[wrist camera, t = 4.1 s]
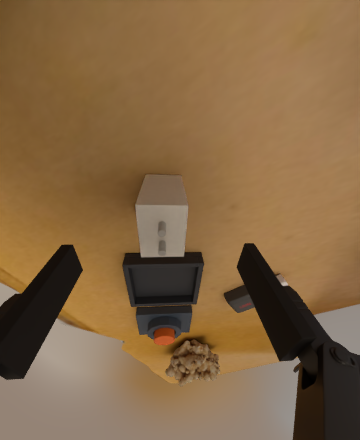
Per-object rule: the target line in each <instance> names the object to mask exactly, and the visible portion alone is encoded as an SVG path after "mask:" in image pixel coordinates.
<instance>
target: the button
mask: <svg viewBox="0 0 360 440" xmlns="http://www.w3.org/2000/svg"><path fill="white" fill-rule="evenodd" d="M174 341H175V333H174V329H171V328H160V329H157V330H155V332H154V343H155V344H158V345H169V344H171V343H173V342H174Z"/></svg>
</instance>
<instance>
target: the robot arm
mask: <svg viewBox="0 0 360 440" xmlns="http://www.w3.org/2000/svg"><path fill="white" fill-rule="evenodd" d="M237 269H238V271H239V273H240V276H241V278H242V280H243V282H244V284H245V287H246V289H247V291H248V293H249V295H250V298H251V300H252V302H253V304H254V306H255V308H256V311H257V313H258V315H259V317H260V319H261V322H262V324H263V326H264V328H265V330H266V333H267V335H268V337H269V339H270V341H271V344H272V346H273V348H274V350H275V352H276V354H277V357H278V359H279V361H291V360H294V359H295V358H296V357H297V356H298V358H299V360H300V361H301V362H300V363H299V364H298V365H297V366H296V367H295V368H294V372H297V371H298V370H299V375H298V386H297V398H296V409H295V421H294V433H293V440H360V355H357V354H354V353H351V352H349V351H348V350H347V349H346V348H345V347H343V346H342V345H341V344H339V343H337V342H334V341H333V340H332V339H331V338H330V337H329V336H328V334H327V333H326V332H325V330H324V329H323V328H322V326H321V325H320V323H319V322H318V321H317V319H316V318H315V317H314V315H313V314H312V312H311V311H310V310H309V309H308V307H307V306H306V304H305V303H304V302H303V300H302V299H301V297H300V296H299V295H298V293H297V292H296V291H295V290H293V289H292V288H291V287H290V286H282V284H281V283H280V281H279V280H278V278H277V277H276V276H275V274H274V273H273V271H272V270H271V268H270V267H269V265H268V264H267V262H266V261H265V259H264V258H263V256H262V255H261V253H260V252H259V250H258V249H257V247H256V246H255V244H254V243H245V244H244V247H243V250H242V253H241V256H240V259H239V262H238V265H237ZM82 271H83V269H82V266H81V264H80V261H79V259H78V256H77V254H76V251H75V249H74V246H73V245H61V246H60V248H59V249H58V250H57V251H56V252H55V254H54V255H53V256H52V257H51V259H50V260H49V261H48V262H47V263H46V265H45V266H44V267H43V268H42V270H41V271H40V272H39V273H38V274H37V276H36V277H35V278H34V279H33V281H32V282H31V283H30V284H29V286H28V287H27V288H26V289H25V290H24V292H23V293H22V294H14V295H13V296H12V297H11V298H9V299H8V300H7V301H5V302H4V303H3V304H2V305H1V307H0V376H1V377H3V378H5V379H7V380H8V379H23V378H24V377H25V375H26V373H27V371H28V370H29V368H30V366H31V364H32V362H33V360H34V359H35V357H36V355H37V353H38V351H39V349H40V348H41V346H42V344H43V342H44V340H45V338H46V337H47V335H48V333H49V331H50V329H51V328H52V326H53V324H54V322H55V320H56V318H57V317H58V315H59V313H60V311H61V309H62V307H63V306H64V304H65V302H66V300H67V298H68V296H69V295H70V293H71V291H72V289H73V287H74V285H75V284H76V282H77V280H78V278H79V276H80V274H81V273H82Z"/></svg>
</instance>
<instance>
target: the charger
mask: <svg viewBox="0 0 360 440" xmlns="http://www.w3.org/2000/svg"><path fill="white" fill-rule="evenodd" d="M135 210H136V218H137V227H138V236H139V244H140V253H141V257H184V251H185V240H186V228H187V216H188V202H187V198H186V193H185V189H184V185H183V180H182V176H181V175H153V174H146V175H145V178H144V181H143V184H142V186H141V189H140V192H139V195H138V198H137V201H136V204H135Z"/></svg>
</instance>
